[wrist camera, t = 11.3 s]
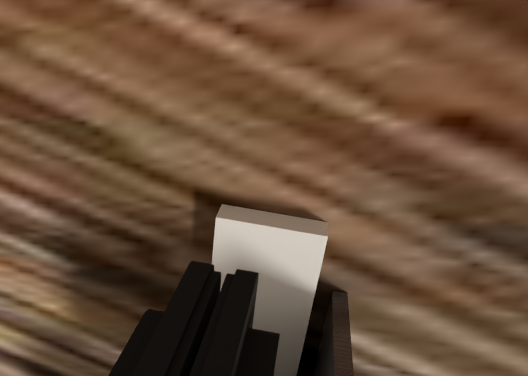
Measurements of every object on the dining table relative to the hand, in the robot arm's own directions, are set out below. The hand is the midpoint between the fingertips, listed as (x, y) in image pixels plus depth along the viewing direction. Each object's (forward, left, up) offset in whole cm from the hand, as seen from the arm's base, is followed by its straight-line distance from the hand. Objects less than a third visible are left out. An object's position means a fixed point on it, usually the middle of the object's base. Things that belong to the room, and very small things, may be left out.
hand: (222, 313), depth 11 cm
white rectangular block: (+16, 0, -20) cm, 26 cm away
